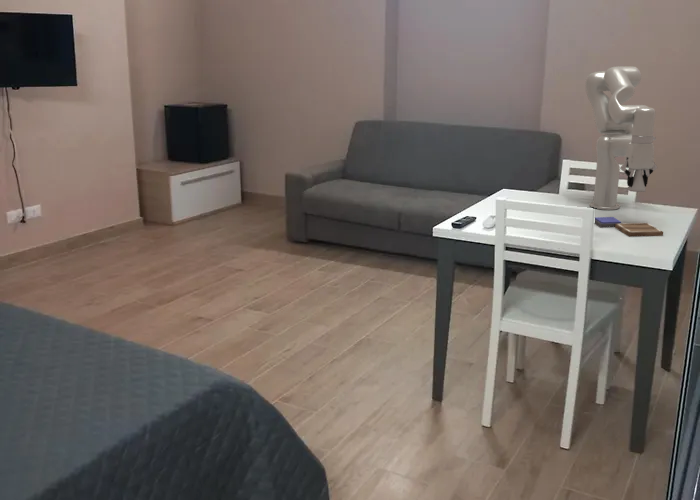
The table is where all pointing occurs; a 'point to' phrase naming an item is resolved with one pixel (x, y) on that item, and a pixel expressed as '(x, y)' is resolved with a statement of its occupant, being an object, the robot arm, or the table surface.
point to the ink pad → (606, 222)
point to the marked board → (638, 229)
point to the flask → (638, 182)
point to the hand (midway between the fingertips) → (636, 185)
